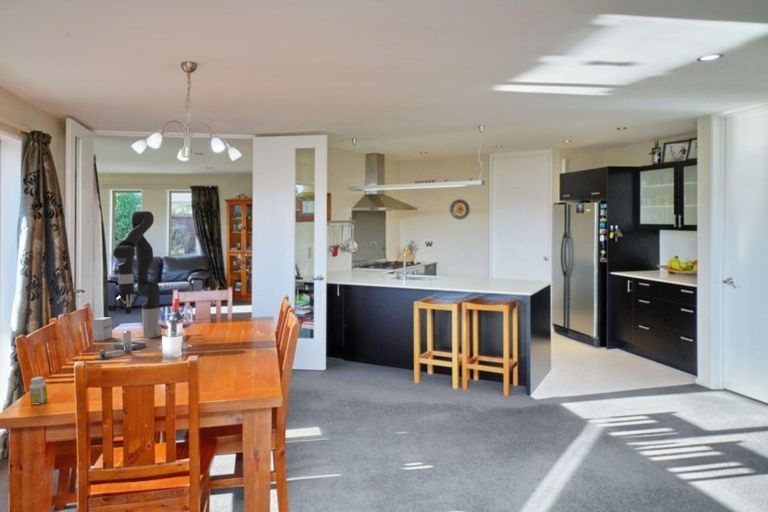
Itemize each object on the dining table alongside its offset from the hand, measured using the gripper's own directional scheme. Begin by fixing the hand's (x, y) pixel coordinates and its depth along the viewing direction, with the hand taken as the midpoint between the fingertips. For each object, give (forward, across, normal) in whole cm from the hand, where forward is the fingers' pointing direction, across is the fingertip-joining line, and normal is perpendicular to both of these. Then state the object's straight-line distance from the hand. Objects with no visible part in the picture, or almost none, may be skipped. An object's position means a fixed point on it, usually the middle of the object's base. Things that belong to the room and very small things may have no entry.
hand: (127, 313), depth 280 cm
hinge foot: (+19, +20, +6) cm, 29 cm away
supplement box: (+19, -8, -34) cm, 40 cm away
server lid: (+19, 0, 0) cm, 19 cm away
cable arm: (+18, +15, +9) cm, 25 cm away
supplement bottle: (+19, +74, +45) cm, 89 cm away
